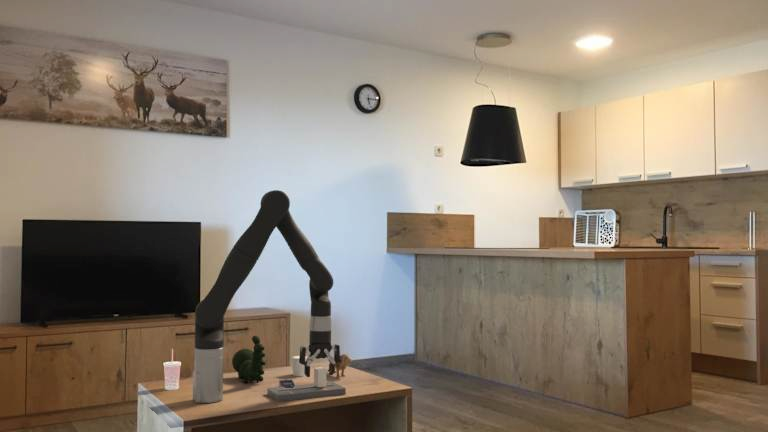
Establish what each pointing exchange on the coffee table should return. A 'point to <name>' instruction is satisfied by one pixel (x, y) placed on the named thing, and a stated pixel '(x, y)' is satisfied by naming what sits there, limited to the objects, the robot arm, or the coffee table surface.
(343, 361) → the lion figurine
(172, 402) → the coffee table surface
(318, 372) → the cylinder
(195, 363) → the robot arm
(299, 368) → the white cup
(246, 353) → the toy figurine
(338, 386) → the console
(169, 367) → the beverage cup
